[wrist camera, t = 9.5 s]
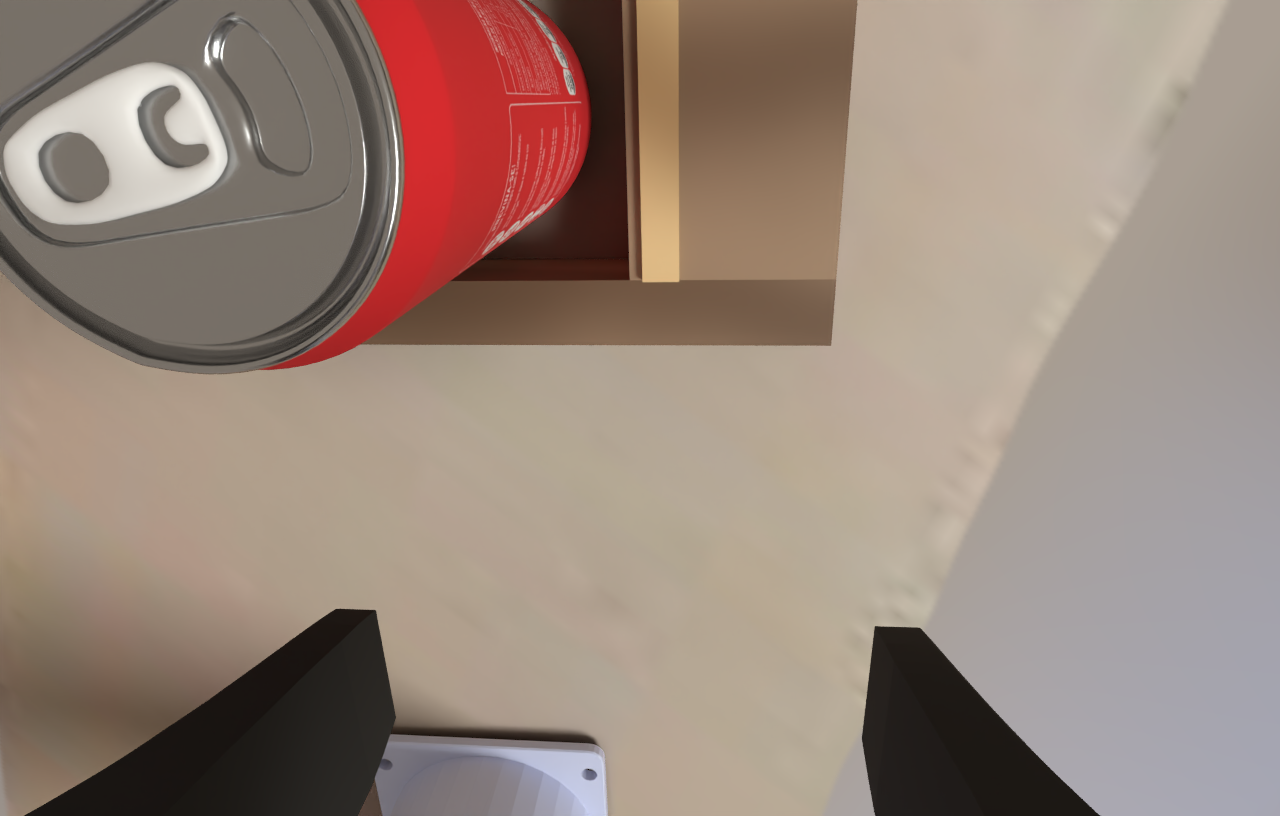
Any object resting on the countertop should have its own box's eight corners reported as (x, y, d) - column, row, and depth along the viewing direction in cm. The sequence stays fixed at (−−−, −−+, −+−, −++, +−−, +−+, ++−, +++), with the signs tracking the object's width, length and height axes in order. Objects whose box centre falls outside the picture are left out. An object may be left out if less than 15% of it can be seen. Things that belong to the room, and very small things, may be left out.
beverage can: (626, 187, 18) (511, 320, 7) (436, 249, 19) (79, 450, 8) (553, -45, 17) (257, -328, 6) (348, 36, 18) (-252, -69, 7)
